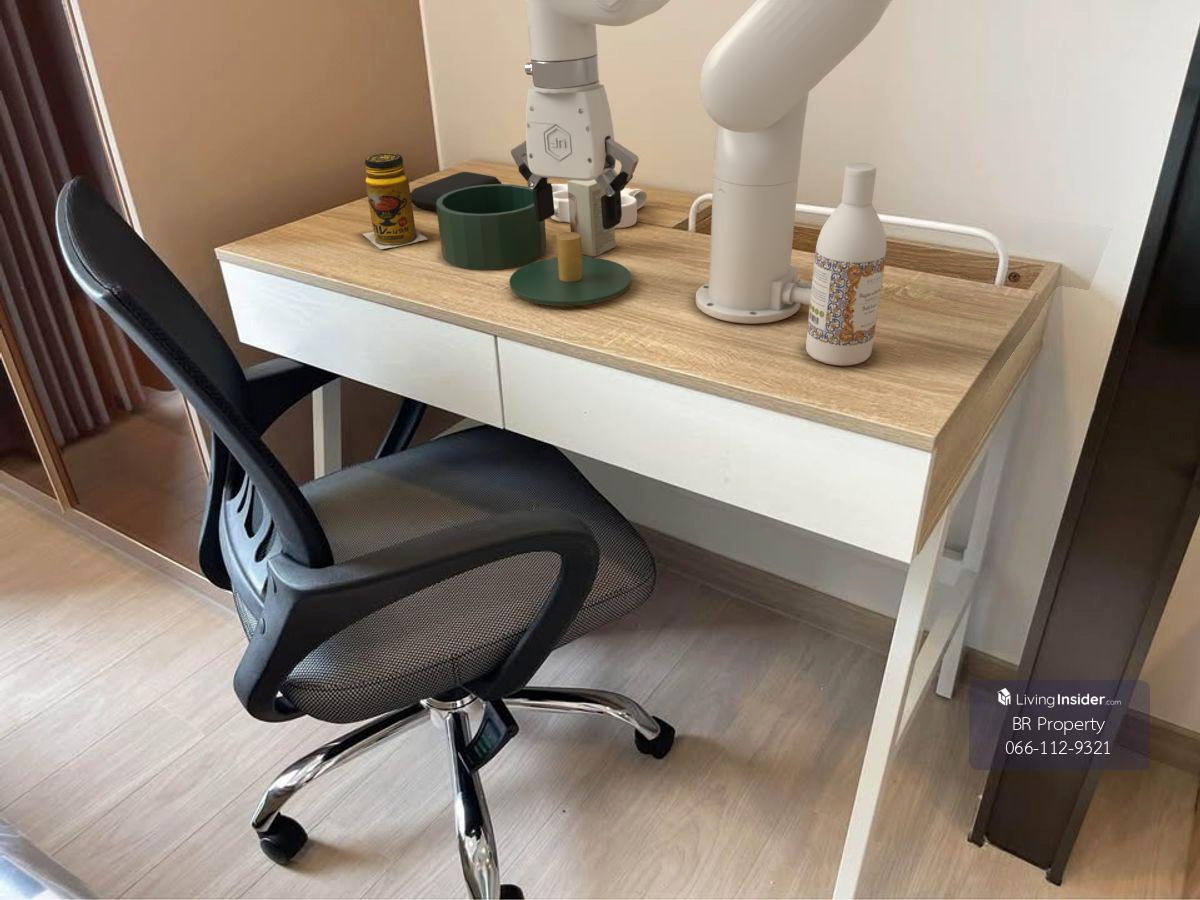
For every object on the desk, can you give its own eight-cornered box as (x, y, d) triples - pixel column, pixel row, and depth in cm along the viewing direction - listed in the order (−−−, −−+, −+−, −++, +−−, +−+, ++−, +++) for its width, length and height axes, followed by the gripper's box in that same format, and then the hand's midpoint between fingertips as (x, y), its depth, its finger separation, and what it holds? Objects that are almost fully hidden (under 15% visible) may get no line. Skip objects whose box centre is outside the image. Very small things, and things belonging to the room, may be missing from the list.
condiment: (381, 250, 131) (367, 165, 124) (361, 234, 137) (348, 153, 130) (428, 240, 134) (417, 157, 127) (407, 225, 140) (396, 145, 134)
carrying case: (460, 184, 158) (399, 207, 148) (458, 167, 157) (397, 188, 147) (507, 193, 153) (448, 217, 143) (506, 175, 152) (446, 198, 141)
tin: (566, 244, 131) (563, 191, 127) (506, 277, 121) (501, 221, 117) (485, 229, 138) (480, 179, 134) (421, 259, 127) (414, 206, 123)
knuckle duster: (664, 209, 143) (612, 236, 133) (571, 193, 152) (516, 217, 142) (664, 188, 142) (611, 213, 132) (570, 173, 151) (514, 195, 140)
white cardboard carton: (593, 241, 132) (591, 171, 126) (616, 247, 129) (615, 176, 124) (568, 251, 128) (565, 179, 123) (592, 258, 126) (589, 185, 120)
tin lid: (653, 276, 119) (653, 226, 116) (590, 319, 108) (588, 265, 104) (554, 257, 126) (551, 210, 123) (485, 296, 115) (480, 245, 111)
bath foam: (838, 373, 95) (863, 180, 84) (791, 350, 100) (809, 164, 89) (884, 356, 98) (913, 167, 87) (837, 334, 103) (859, 153, 92)
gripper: (485, 78, 105) (503, 224, 114) (614, 82, 97) (623, 239, 106) (523, 67, 110) (537, 207, 119) (648, 69, 102) (654, 220, 111)
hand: (578, 222), depth 112 cm, fingers open, 9 cm apart
